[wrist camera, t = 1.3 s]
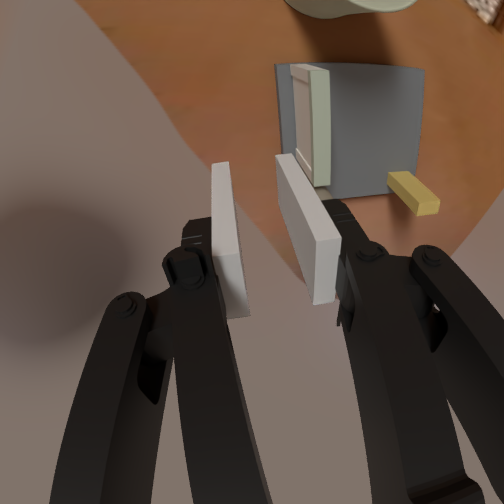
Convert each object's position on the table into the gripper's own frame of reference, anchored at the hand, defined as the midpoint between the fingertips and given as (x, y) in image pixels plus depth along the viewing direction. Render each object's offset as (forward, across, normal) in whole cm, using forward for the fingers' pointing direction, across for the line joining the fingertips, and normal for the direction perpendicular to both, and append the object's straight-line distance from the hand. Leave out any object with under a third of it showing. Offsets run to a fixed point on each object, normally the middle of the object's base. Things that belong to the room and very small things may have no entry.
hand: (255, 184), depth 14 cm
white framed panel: (+17, +6, -1) cm, 18 cm away
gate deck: (+18, +13, -4) cm, 23 cm away
